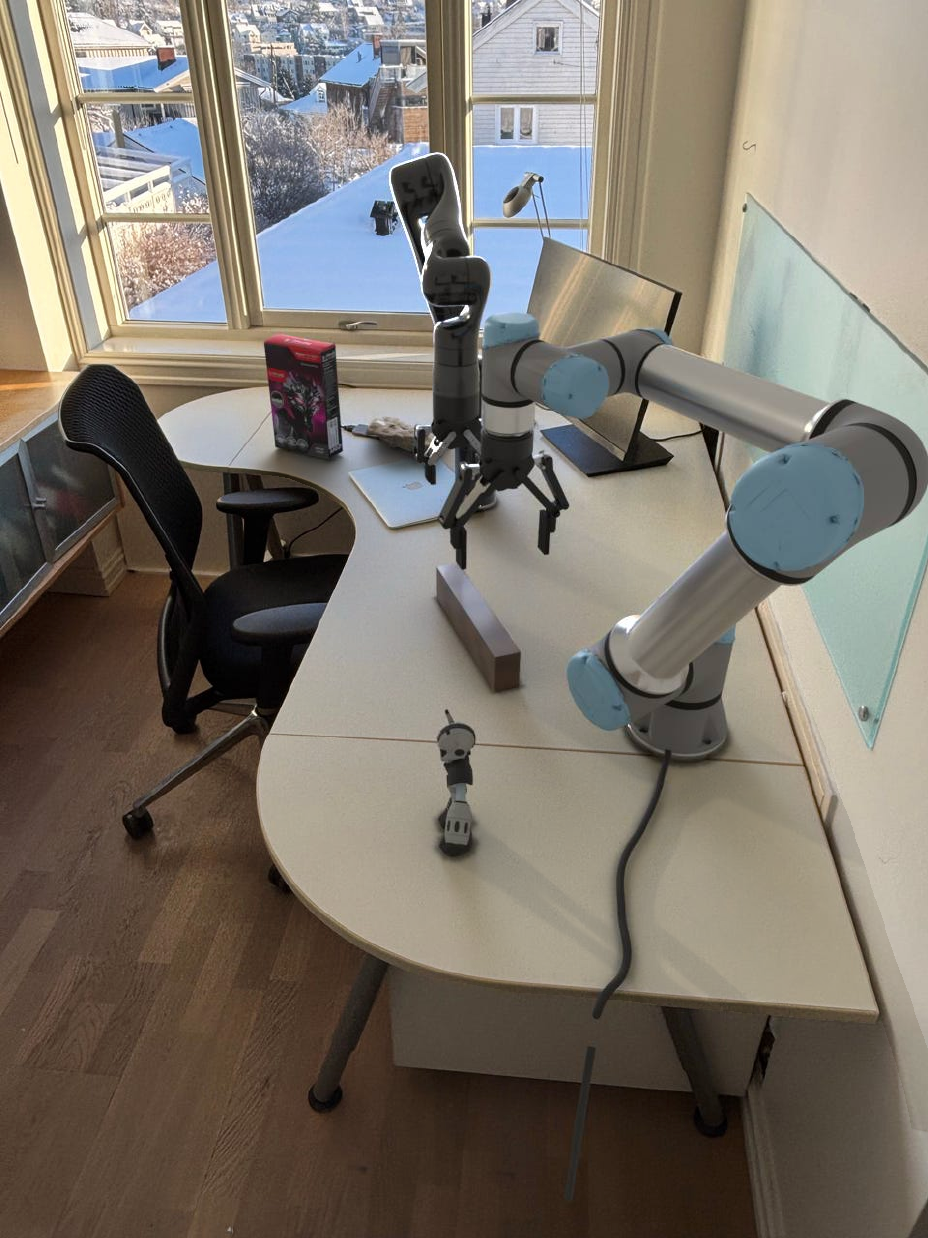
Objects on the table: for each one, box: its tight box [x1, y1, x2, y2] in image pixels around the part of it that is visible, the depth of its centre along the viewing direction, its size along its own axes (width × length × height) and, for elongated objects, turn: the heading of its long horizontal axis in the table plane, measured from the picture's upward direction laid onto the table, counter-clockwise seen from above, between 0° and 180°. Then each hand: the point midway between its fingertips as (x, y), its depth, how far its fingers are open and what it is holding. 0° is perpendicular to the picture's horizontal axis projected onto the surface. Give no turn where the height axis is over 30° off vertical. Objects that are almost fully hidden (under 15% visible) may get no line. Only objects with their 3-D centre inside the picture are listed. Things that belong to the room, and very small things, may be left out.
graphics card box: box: [263, 333, 344, 460], centre depth 223 cm, size 17×7×27 cm, turn 62°
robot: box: [436, 708, 477, 857], centre depth 119 cm, size 20×5×20 cm, turn 3°
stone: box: [365, 416, 435, 453], centre depth 231 cm, size 21×15×6 cm
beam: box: [435, 562, 522, 693], centre depth 161 cm, size 30×4×7 cm, turn 20°
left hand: (455, 479), depth 157 cm, fingers open, 8 cm apart
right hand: (502, 558), depth 142 cm, fingers open, 13 cm apart
